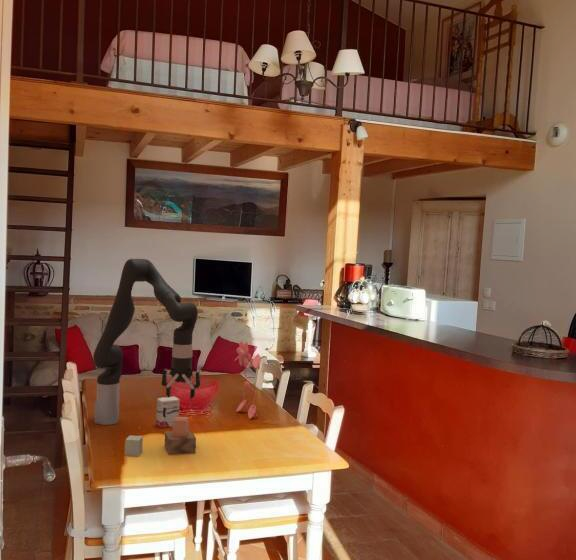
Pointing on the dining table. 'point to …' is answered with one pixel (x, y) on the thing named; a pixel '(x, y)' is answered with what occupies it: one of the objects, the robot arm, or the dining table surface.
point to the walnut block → (180, 443)
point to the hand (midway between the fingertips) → (180, 397)
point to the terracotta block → (180, 426)
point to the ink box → (167, 411)
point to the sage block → (133, 445)
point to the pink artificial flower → (243, 359)
